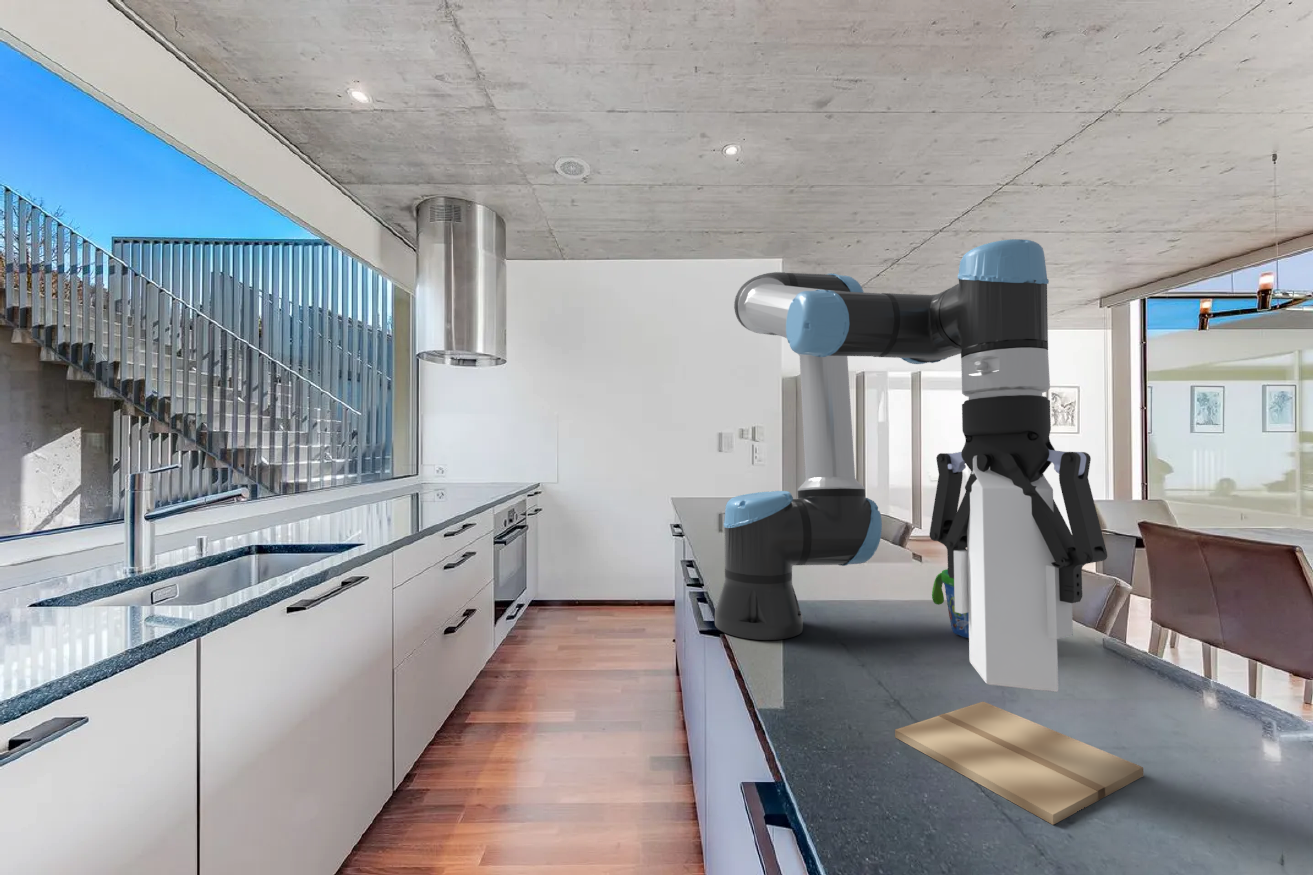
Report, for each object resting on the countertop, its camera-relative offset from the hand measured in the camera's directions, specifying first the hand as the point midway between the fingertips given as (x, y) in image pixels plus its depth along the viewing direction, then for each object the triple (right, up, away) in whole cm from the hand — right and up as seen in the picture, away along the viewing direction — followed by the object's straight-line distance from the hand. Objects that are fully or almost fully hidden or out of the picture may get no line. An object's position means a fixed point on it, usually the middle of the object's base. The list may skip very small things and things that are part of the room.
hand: (1009, 622), depth 53 cm
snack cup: (+18, -15, +36) cm, 43 cm away
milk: (0, -6, 0) cm, 6 cm away
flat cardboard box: (0, -13, 0) cm, 13 cm away
